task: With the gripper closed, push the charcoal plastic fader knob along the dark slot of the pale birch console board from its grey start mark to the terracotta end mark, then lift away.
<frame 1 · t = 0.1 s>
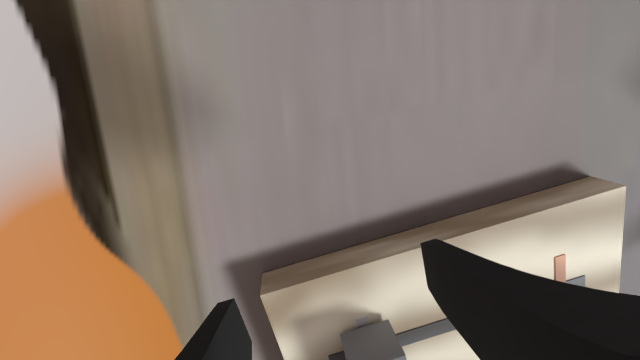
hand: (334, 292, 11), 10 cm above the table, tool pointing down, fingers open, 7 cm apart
console board: (442, 298, 25), on the table
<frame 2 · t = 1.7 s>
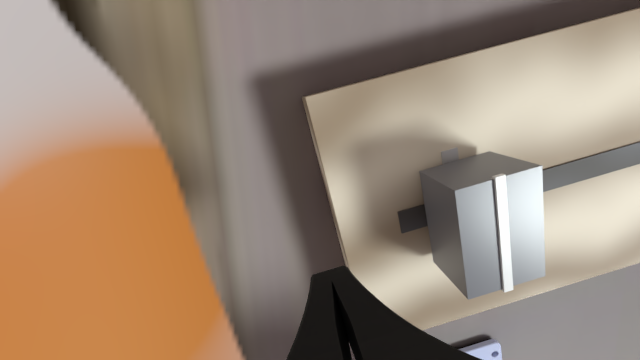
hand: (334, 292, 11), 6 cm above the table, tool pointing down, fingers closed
console board: (542, 159, 18), on the table
fader: (480, 221, 13), point 4 cm above the table, slide at 0.0 cm
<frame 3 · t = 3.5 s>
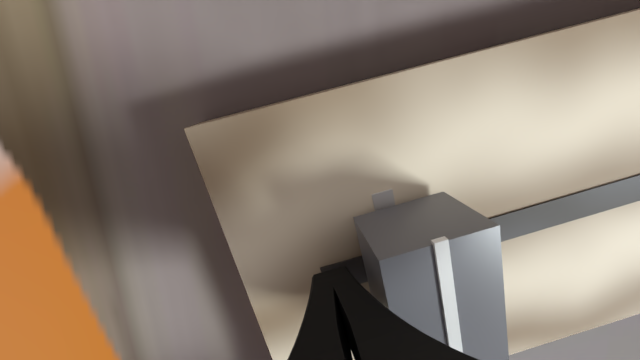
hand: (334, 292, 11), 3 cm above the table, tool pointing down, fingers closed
console board: (510, 193, 15), on the table
fader: (427, 285, 10), point 4 cm above the table, slide at 0.4 cm, touching gripper
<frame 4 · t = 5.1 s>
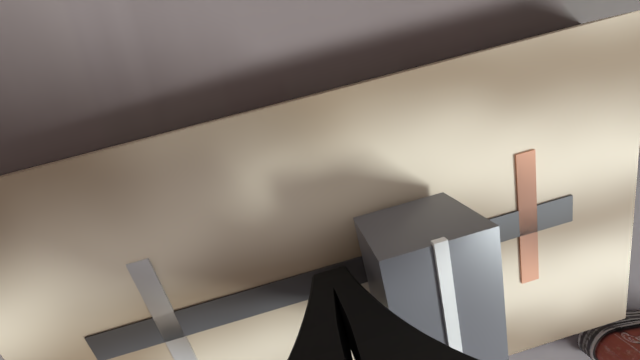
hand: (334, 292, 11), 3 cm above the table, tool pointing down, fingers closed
console board: (331, 245, 14), on the table
fader: (427, 286, 10), point 4 cm above the table, slide at 9.7 cm, touching gripper
lighter: (630, 331, 19), on the table
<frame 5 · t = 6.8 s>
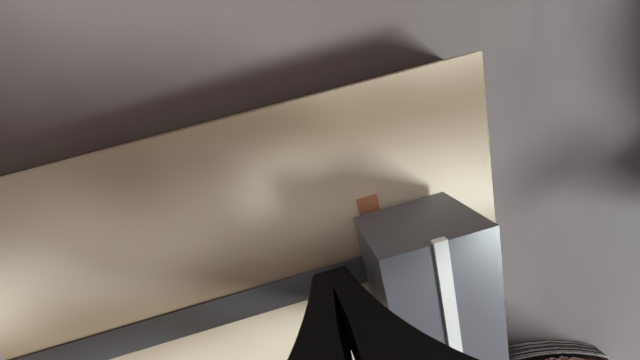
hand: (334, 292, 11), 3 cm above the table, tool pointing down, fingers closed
console board: (201, 283, 14), on the table
fader: (427, 285, 10), point 4 cm above the table, slide at 16.0 cm, touching gripper
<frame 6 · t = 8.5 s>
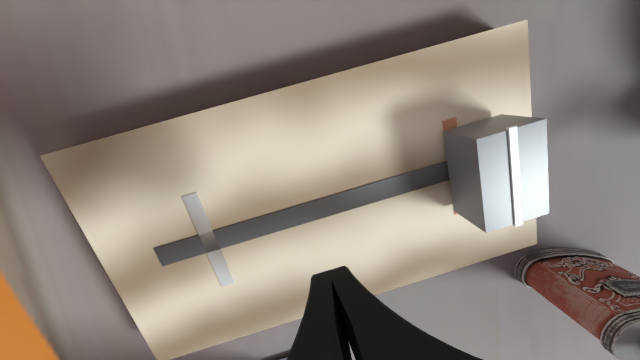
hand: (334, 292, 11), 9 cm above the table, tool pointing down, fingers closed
console board: (321, 192, 20), on the table
fader: (494, 171, 16), point 4 cm above the table, slide at 16.1 cm
lighter: (557, 265, 25), on the table
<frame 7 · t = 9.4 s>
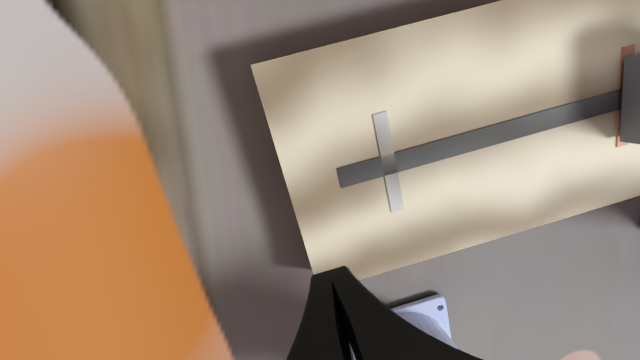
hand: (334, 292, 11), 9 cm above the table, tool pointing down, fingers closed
console board: (475, 128, 20), on the table
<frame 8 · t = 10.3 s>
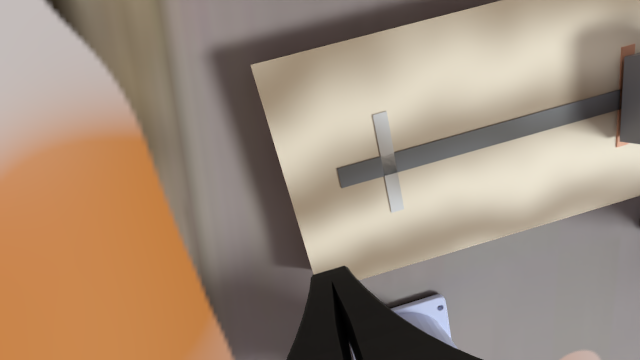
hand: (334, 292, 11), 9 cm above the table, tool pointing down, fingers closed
console board: (475, 128, 20), on the table
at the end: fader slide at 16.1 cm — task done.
